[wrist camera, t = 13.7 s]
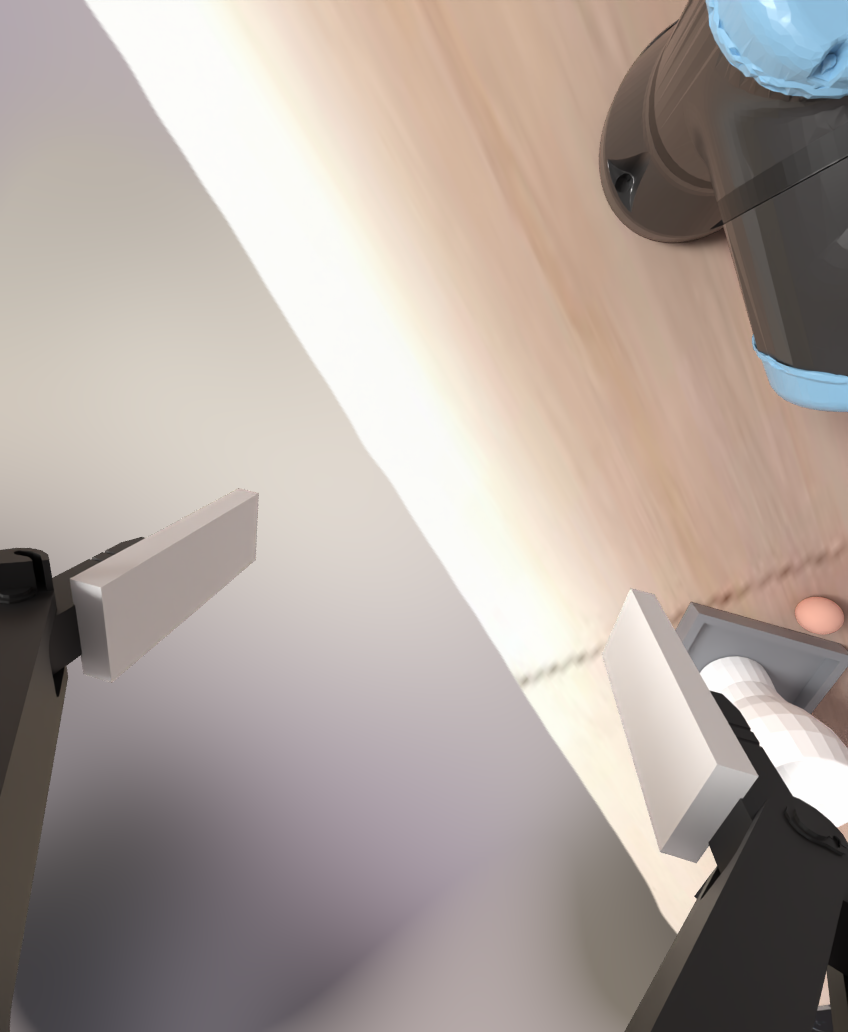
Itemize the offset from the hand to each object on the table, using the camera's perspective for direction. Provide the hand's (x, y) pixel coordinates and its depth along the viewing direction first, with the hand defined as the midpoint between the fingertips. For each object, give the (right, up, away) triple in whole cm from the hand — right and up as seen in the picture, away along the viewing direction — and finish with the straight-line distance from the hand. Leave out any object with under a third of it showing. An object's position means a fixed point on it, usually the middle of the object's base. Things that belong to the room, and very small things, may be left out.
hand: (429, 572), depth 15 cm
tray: (+38, -18, +40) cm, 58 cm away
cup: (+38, -18, +39) cm, 57 cm away
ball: (+43, -8, +35) cm, 56 cm away
